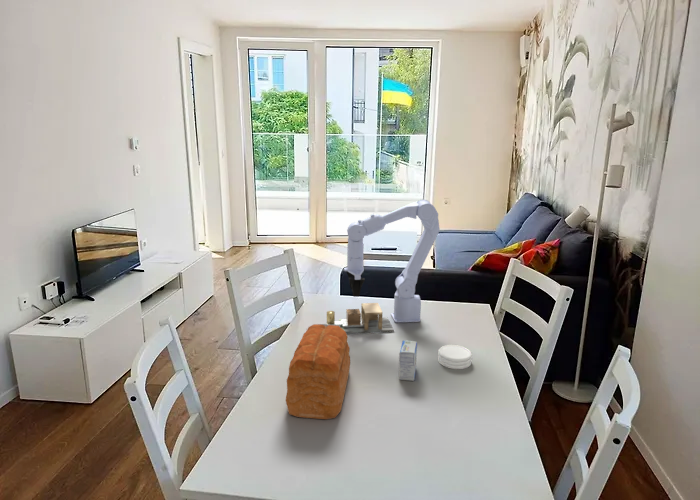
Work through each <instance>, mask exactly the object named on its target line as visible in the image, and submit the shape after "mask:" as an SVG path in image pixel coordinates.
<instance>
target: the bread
mask: <svg viewBox="0 0 700 500" xmlns="http://www.w3.org/2000/svg"><path fill="white" fill-rule="evenodd" d="M318 324H319V323H314V324H311V325H312V326H311V325H309V326H310V327H309V326H308V327H309V328H308V327H307V328H308V329H307V328H306V329H307V331H305V332H304V333H303V335H302V337H301V338H300V339H301V340H300V341H299V343H298V345H297V347H296V349H295V350H294V353H293V356H292V358H291V361H290V363H289V365H288V375H287V379H286V396H285V404H286V407H287V411H288V414H289V415H290V416H294V417H298V418H303V419H315V420H316V419H317V420H331V419H335V418H336V417H338V415H339V413H340V412H342V407H343V403H344V402H343V401H344V398H345V393H346V388H347V384H348V380H349V373H350V368H351V356H350V349H351V348H350V346H349V342H348V338H349V337H348V334H346V332H345V331H344V330H343V329H342V328H341V327H340V326H335V325H328V326H327V327H326V326H324V325H318Z"/></svg>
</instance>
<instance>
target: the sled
mask: <svg viewBox="0 0 700 500" xmlns="http://www.w3.org/2000/svg"><path fill="white" fill-rule="evenodd" d="M345 311H346V312H345V314H346V315H345V318H340V319H341V321H339V320H336V319H335V317H336V314H335V313H336V311H333V310H327V311H326V324H328V325H335V326H339V327H340V326H343V327H364V324H365V321H364V319H361V310H360V309H359V308H355V309H354V308H351V309H350V308H349V309H346V310H345ZM335 320H336V321H335Z"/></svg>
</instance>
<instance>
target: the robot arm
mask: <svg viewBox="0 0 700 500" xmlns="http://www.w3.org/2000/svg"><path fill="white" fill-rule="evenodd" d="M405 218H411V219H414V220H416V219H417V218H418V219H419V220H420V221H421V225H422V226H423V231H422V232H421V233H422V234H421V236H419V237H420V238H419V240H418V242H417V244H416V246H415V248H414V250H413V251H412V255H411V256H410V258H409V260H408V263H407V265H406V266H405V268H404V269H403V270H402V272H401V273H400V274H399V275H398V276H396V278H395V281H394V285H395V288H396V291H395V293H394V296H393V297H394V298H393V299H394V303H393V304H394V305H393V312H391V313H390V315H391V317H392V319H393V321H394V323H417V322H422V321H421V320H422V319H421V308H422V303H421V300H422V299H421V296H420V295H419V294H415V293H416V284H417V283H418V278H419V274H420V271H421V270H422V268H423V266H424V263H425V262H426V259H427V257H428V256H429V253H430V252H431V250H432V247H433V245H434V243H435V242H436V241H435V240H436V239H437V237H438V235H439V233H440V231H441V230H440V221H439V213H438V211H437V209H436V207H435V206H434V205H433V204H432V203H431V202H430V201H429V200H428V199H420V200H418V201H413V202H410V203H408V204H406V205H404V206H401V207H399V208H397V209H395V210H393V211H390V212H388V213H386V214H383V215H380V214H378V213H376V214H375V213H372V214H370V216H368V217H367V218H364V219H358V220H357V222H355V221H354V222H351V223H350V224H349V225H348V227H347V229H346V231H347V236H348V237H347V242H348V243H347V248H346V249H347V252H346V254H347V258H346V259H347V260H346V261H347V262H346V265H347V266H346V267H344V268H343V271H344V272H346V275H347V277H348V281H349V283H348V284H349V288H350V290H351V292H352V296H353V297H360V294H361V290H362V287H363V284H364V282H365V280H366V278H365V277H361V275H362V274H363V273H364V249H365V248H364V244H365V243H364V237H366V236H369V235H372V234H375V233H377V232H380V231H382V230H384V229H385V228H386V227H385V226H386V225H389V224H392V223H394V222H396V221H401V220H402V219H405Z"/></svg>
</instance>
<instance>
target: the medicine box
mask: <svg viewBox="0 0 700 500" xmlns="http://www.w3.org/2000/svg"><path fill="white" fill-rule="evenodd" d="M417 351H418V342H417V341H416V340H415V341H414V340H405V339H403V340H402V341H401V346H400V349H399V353H398V355H399V356H398V380H402V381H411V382H412V381H413V382H414V381H415V377H416V370H417V356H418V355H417V353H418V352H417Z"/></svg>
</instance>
